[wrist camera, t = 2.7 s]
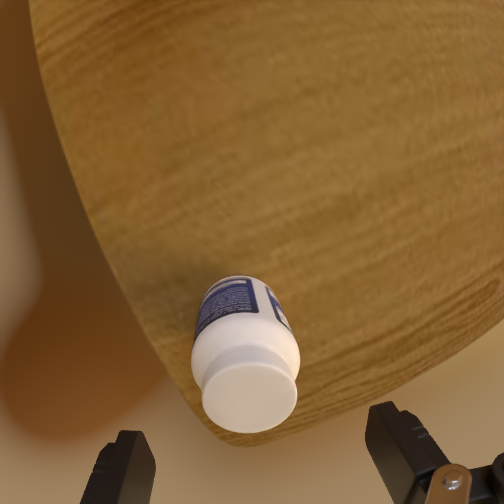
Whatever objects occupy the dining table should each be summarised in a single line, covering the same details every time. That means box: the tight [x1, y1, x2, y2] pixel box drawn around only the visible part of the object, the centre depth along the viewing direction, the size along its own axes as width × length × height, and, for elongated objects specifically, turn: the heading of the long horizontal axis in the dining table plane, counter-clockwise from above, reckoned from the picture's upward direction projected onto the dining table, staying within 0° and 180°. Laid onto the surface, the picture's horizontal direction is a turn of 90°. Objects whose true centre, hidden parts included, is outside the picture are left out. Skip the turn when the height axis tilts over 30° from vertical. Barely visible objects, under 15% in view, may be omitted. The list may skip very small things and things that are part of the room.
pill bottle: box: [191, 276, 300, 433], centre depth 17 cm, size 5×5×10 cm
